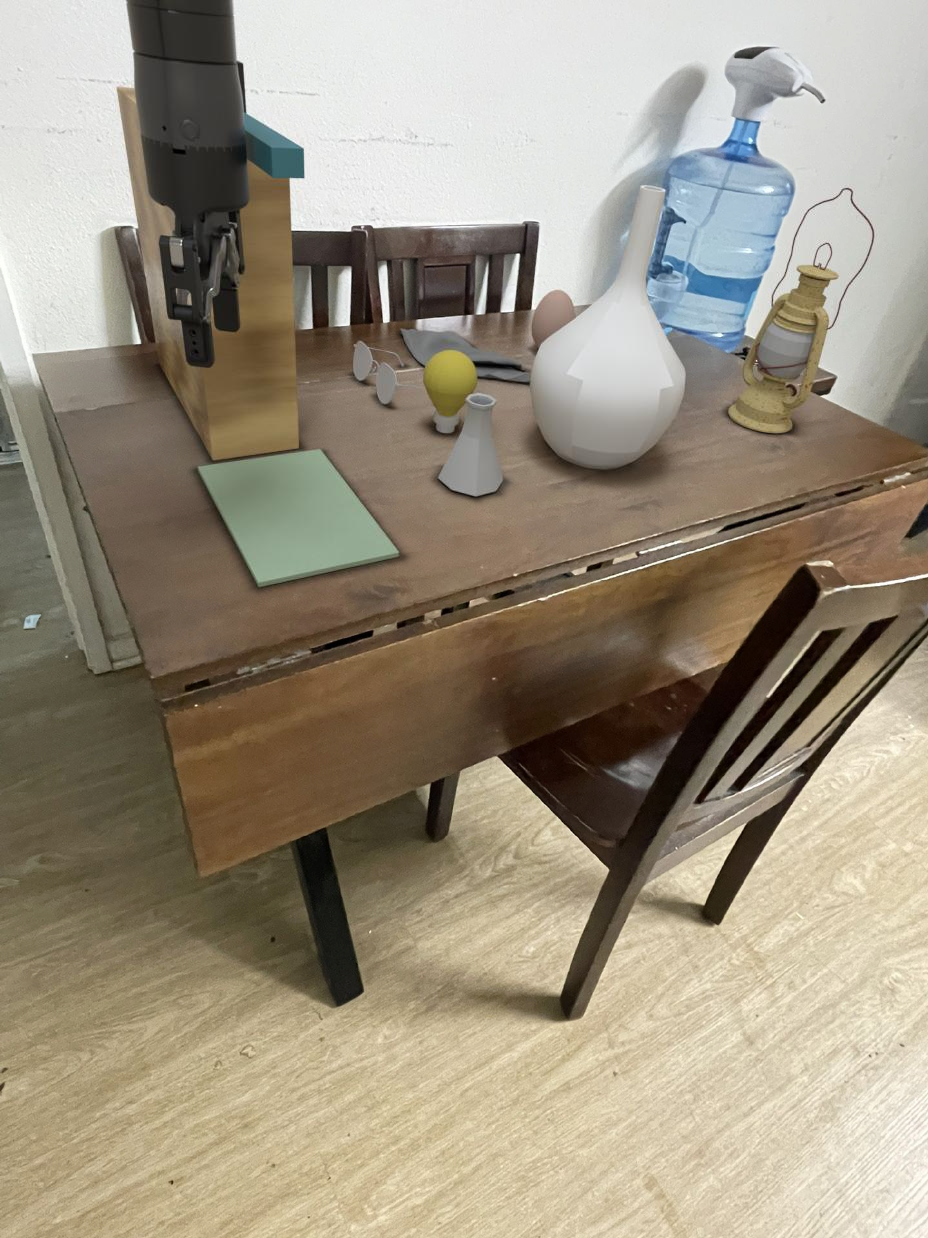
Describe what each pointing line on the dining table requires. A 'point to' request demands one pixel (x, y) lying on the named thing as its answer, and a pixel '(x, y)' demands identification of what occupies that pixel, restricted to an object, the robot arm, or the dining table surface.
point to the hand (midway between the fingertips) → (215, 346)
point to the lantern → (788, 348)
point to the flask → (474, 451)
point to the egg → (551, 315)
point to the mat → (294, 516)
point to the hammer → (270, 145)
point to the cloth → (484, 361)
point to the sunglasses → (385, 373)
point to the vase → (611, 365)
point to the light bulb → (449, 386)
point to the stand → (265, 343)
